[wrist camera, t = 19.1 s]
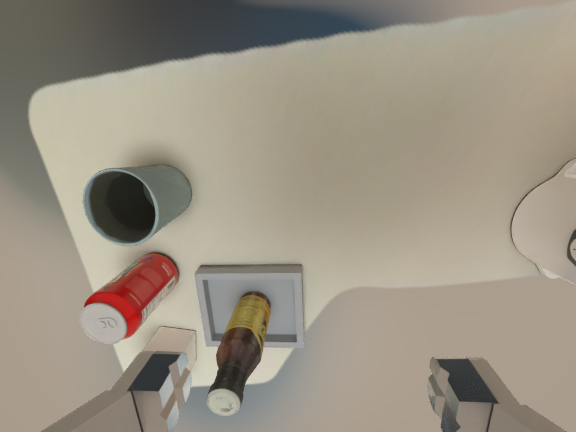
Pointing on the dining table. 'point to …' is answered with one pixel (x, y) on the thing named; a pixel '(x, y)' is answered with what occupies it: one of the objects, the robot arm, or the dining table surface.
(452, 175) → the dining table surface
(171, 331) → the milk carton
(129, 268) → the soda can
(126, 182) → the blue gray cup
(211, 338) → the tray
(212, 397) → the sauce bottle
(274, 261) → the dining table surface
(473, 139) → the dining table surface
